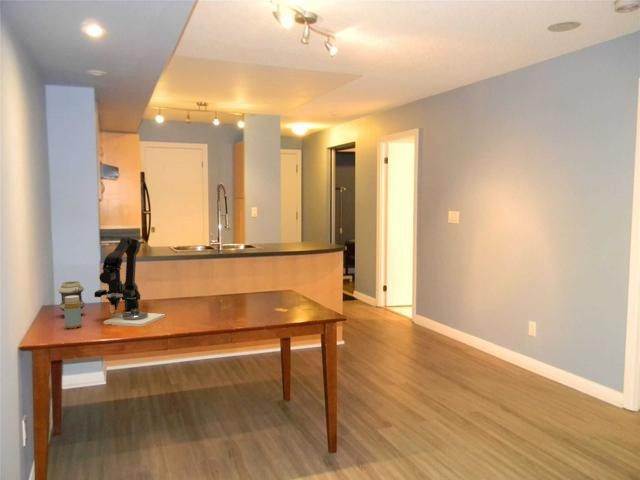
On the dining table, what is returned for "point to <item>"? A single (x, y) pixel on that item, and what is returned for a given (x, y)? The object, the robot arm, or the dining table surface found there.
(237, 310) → the dining table surface
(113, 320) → the white square plate
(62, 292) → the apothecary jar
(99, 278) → the robot arm
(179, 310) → the dining table surface
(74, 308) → the bottle
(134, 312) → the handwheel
